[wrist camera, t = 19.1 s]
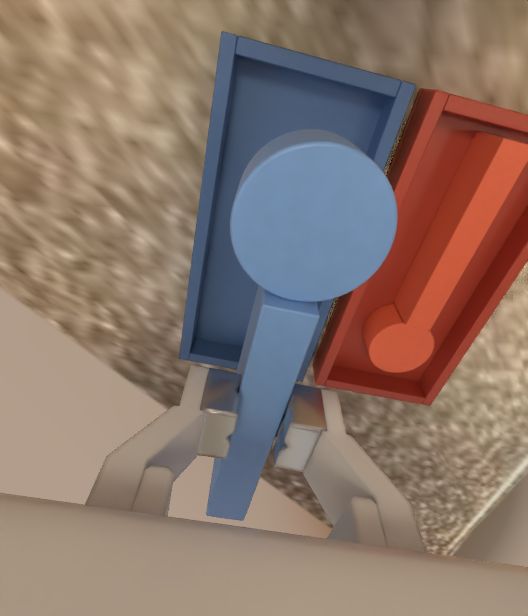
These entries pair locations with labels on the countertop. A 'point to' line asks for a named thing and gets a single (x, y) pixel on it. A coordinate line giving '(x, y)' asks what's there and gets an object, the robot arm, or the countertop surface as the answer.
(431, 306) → the red spoon
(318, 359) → the red tray
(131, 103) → the countertop surface
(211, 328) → the blue tray
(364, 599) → the robot arm
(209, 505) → the blue spoon
